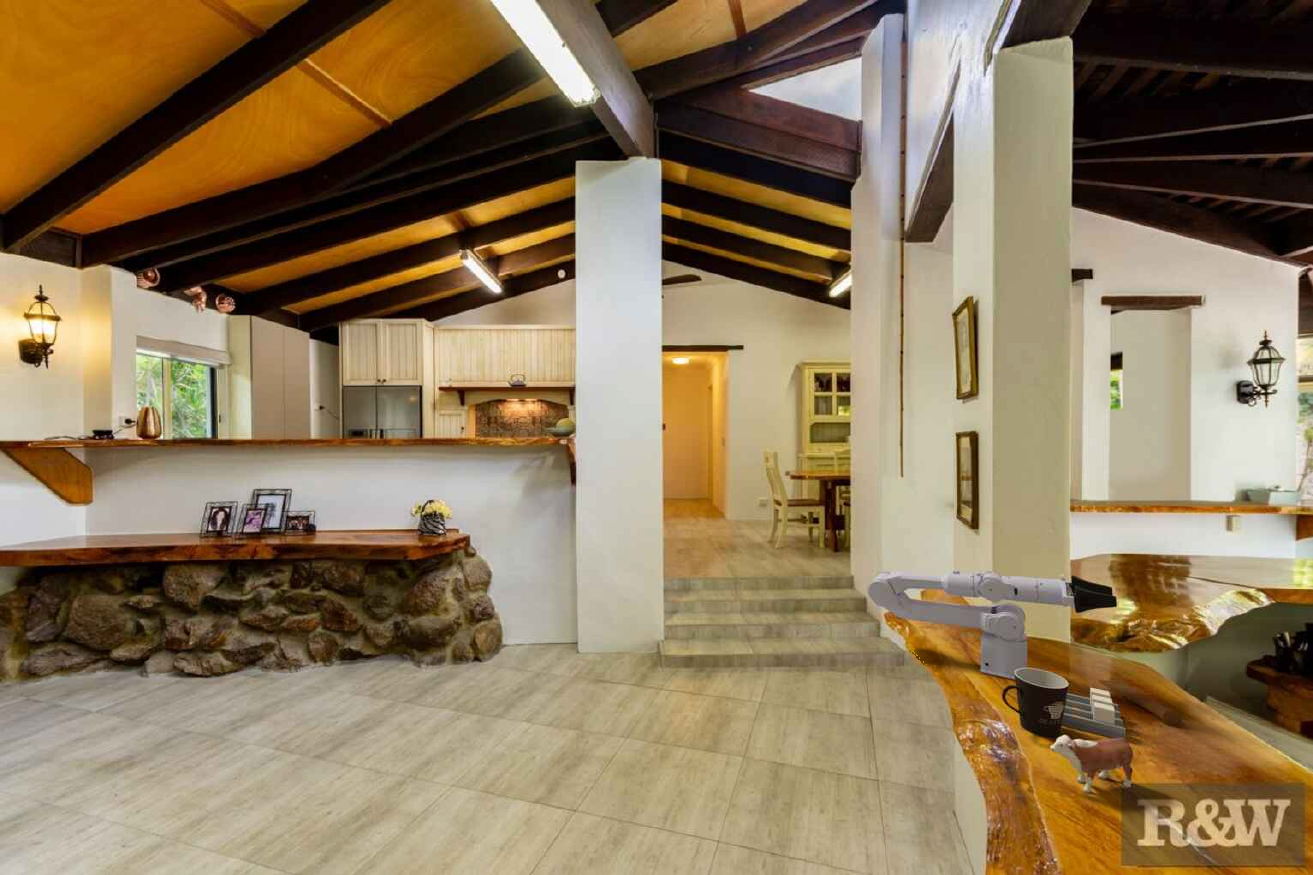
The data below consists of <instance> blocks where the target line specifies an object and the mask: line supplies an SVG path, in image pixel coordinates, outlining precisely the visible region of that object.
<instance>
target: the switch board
mask: <svg viewBox="0 0 1313 875" xmlns="http://www.w3.org/2000/svg"><path fill="white" fill-rule="evenodd" d="M1112 706H1113V707H1114V710H1115V725H1111V724H1107V723H1103V722H1098V721H1094V720H1093V713H1092V705H1090V697H1086V696H1082V695H1079V694H1078V695H1076V694H1074V693H1073V694H1072V693H1068V692H1067V697H1066V703H1065V710H1064V716H1063V722H1062V726H1063V727H1064V726H1065V727H1068V728H1072V729H1076V730H1081V731H1084V732H1088V733H1092V734H1095V735H1100V736H1104V737H1108V738H1110V739H1114V738H1117V739H1118V738H1124V739H1126V732H1127V731H1126V727H1124V720H1123V719H1122V718H1121V716H1122V715H1121V711H1119V705H1118V704H1117V703H1113V704H1112Z"/></svg>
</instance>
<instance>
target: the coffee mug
mask: <svg viewBox="0 0 1313 875" xmlns="http://www.w3.org/2000/svg"><path fill="white" fill-rule="evenodd" d="M1014 674H1015V680H1014V682H1015V685H1014V684H1010V685H1007V686H1006V687H1005V688H1004V689H1003V690H1002V693H1001V699H1002V701H1003V702H1004V704H1005V705H1006V706H1007V707H1008V708H1009V709H1011V710H1013V711H1014V712H1015V713H1017V714H1019V715H1018V716H1019V722H1020V726H1021V727H1022V728H1023V729H1024V730H1025V731H1027V732H1028V733H1030V734H1033V735H1036V736H1038V737H1042V738H1049V739H1054V738H1056V739H1057V738H1059V737H1061V733H1062V726H1063V725H1062V722H1063V716H1064V710H1065V703H1066V697H1067V693H1068V689H1069V682H1068V680H1067V679H1065V678H1064V677H1063V676H1061V675H1059V674H1056V673H1054V672H1051V671H1049V670H1048V671H1047V670H1044V669H1041V668H1040V669H1039V668H1033V667H1027V668H1019V669H1016V670H1015V671H1014ZM1012 689H1013V690H1015V691H1016V697H1017V706H1018V709H1017V708H1015V707H1014V706H1013V705H1011V704H1010V703H1009V702H1008V699H1007V698H1006V695H1007V693H1008V692H1010V690H1012Z"/></svg>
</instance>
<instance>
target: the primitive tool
mask: <svg viewBox="0 0 1313 875" xmlns="http://www.w3.org/2000/svg"><path fill="white" fill-rule="evenodd" d="M1097 682H1098V683H1100V684H1101V685H1103V686H1105V687H1106V688H1108V689H1110V690H1112V691H1113V692H1115V693H1118V695H1121V696H1122V697H1124V698H1126V699H1128V700H1129V701H1131V702H1132V703H1133V704H1136V705H1137V706H1140V707H1141V708H1142V709H1145V710H1146V711H1148V712H1150V713H1152V714H1153V715H1154V716H1156V717H1158V718H1159V719H1161V721H1162V723H1163V724H1164V725H1167V726H1172V727H1178V726H1180V725H1181V724H1182V722H1183V720H1184V718H1183V716H1182V714H1181V713H1180V712H1179V710H1177V709H1175V708H1168V707H1167V706H1165V705H1164V704H1160V703H1159V702H1156V701H1155V700H1154V699H1152V698H1150V697H1149V696H1146V695H1145V694H1143V693H1142V692H1140V691H1139V690H1137V689H1136V688H1135V687H1133V685H1131V684H1130V683H1127V682H1126V681H1123V680H1122V679H1120V680H1119V679H1113V680H1110V679H1109V680H1107V679H1105V680H1104V679H1098V680H1097Z"/></svg>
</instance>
